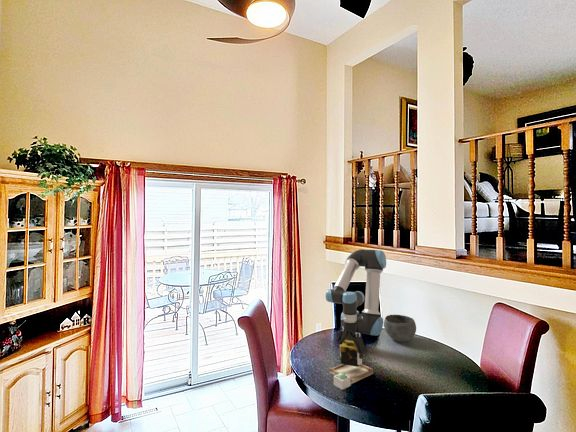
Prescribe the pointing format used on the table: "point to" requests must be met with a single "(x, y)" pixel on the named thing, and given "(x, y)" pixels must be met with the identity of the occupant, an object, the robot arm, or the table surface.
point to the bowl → (400, 327)
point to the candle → (349, 353)
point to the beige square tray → (352, 371)
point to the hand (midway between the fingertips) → (350, 359)
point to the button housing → (342, 382)
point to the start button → (341, 376)
